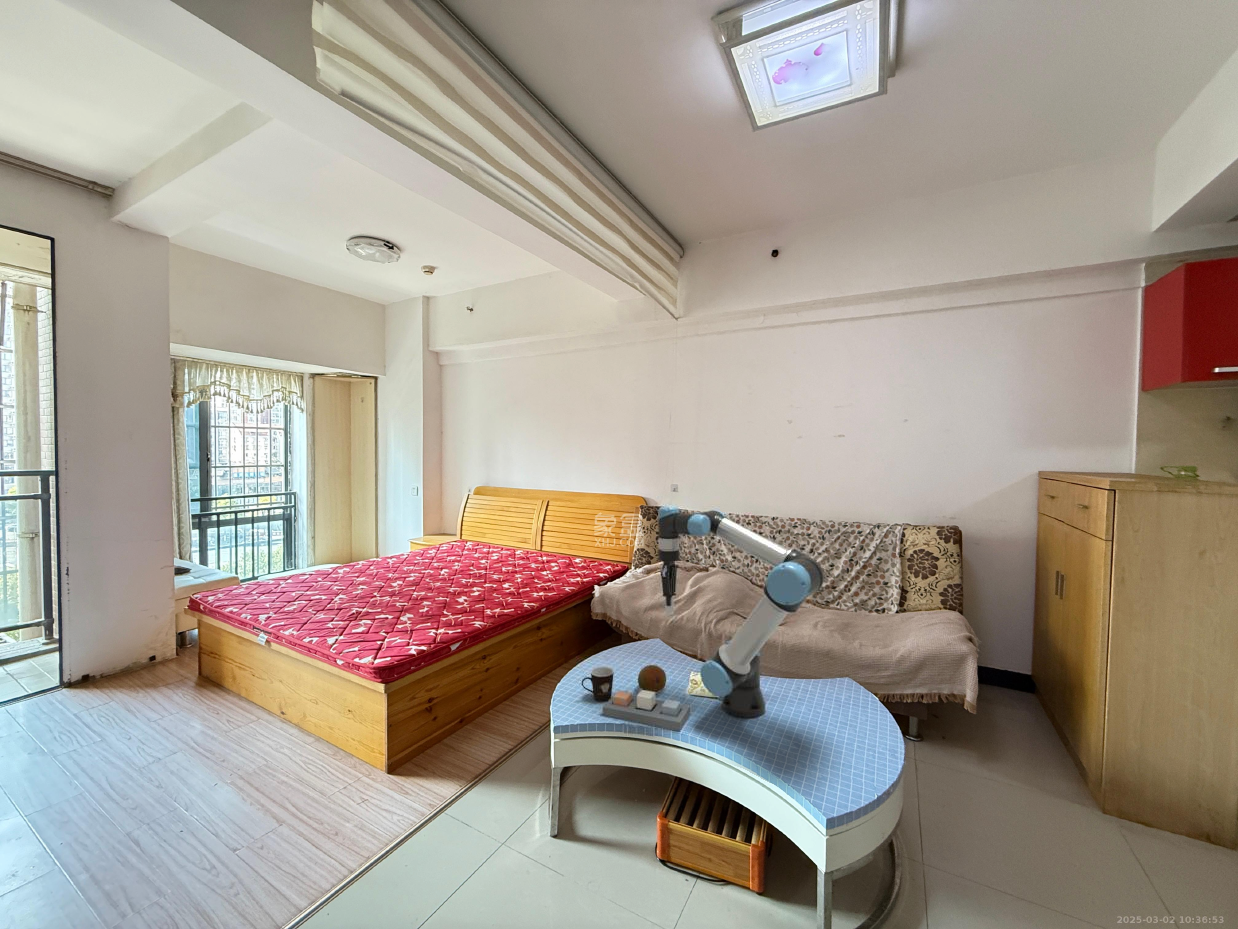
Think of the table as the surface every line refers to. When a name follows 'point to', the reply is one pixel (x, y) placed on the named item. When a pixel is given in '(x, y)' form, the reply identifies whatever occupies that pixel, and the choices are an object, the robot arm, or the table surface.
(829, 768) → the table surface
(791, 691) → the table surface
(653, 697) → the key ivory
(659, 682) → the fruit
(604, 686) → the coffee mug
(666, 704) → the key slate
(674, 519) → the robot arm
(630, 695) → the key terracotta
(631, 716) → the grey slotted tray
